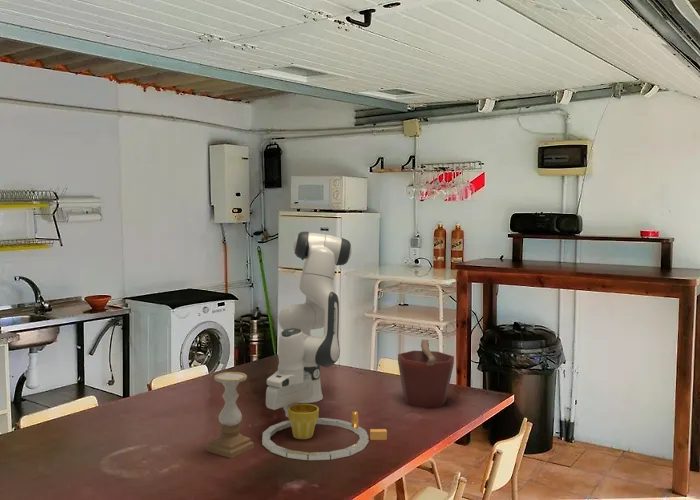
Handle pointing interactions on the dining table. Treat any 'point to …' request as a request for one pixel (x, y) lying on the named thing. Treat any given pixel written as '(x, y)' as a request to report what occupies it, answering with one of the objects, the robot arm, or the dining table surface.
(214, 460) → the dining table surface
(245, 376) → the candle holder
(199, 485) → the dining table surface
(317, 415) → the plant pot
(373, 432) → the pointer block
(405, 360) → the bucket
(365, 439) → the ring
